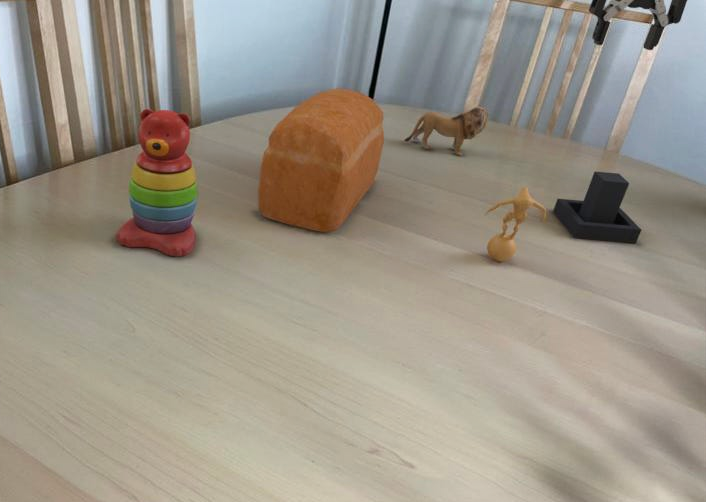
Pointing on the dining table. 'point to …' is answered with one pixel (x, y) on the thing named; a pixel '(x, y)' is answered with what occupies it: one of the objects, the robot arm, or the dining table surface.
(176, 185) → the stacking bear
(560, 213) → the black square tray
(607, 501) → the dining table surface
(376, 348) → the dining table surface
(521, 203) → the figurine
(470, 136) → the lion figurine
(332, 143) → the bread
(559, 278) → the dining table surface
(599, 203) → the pad block
